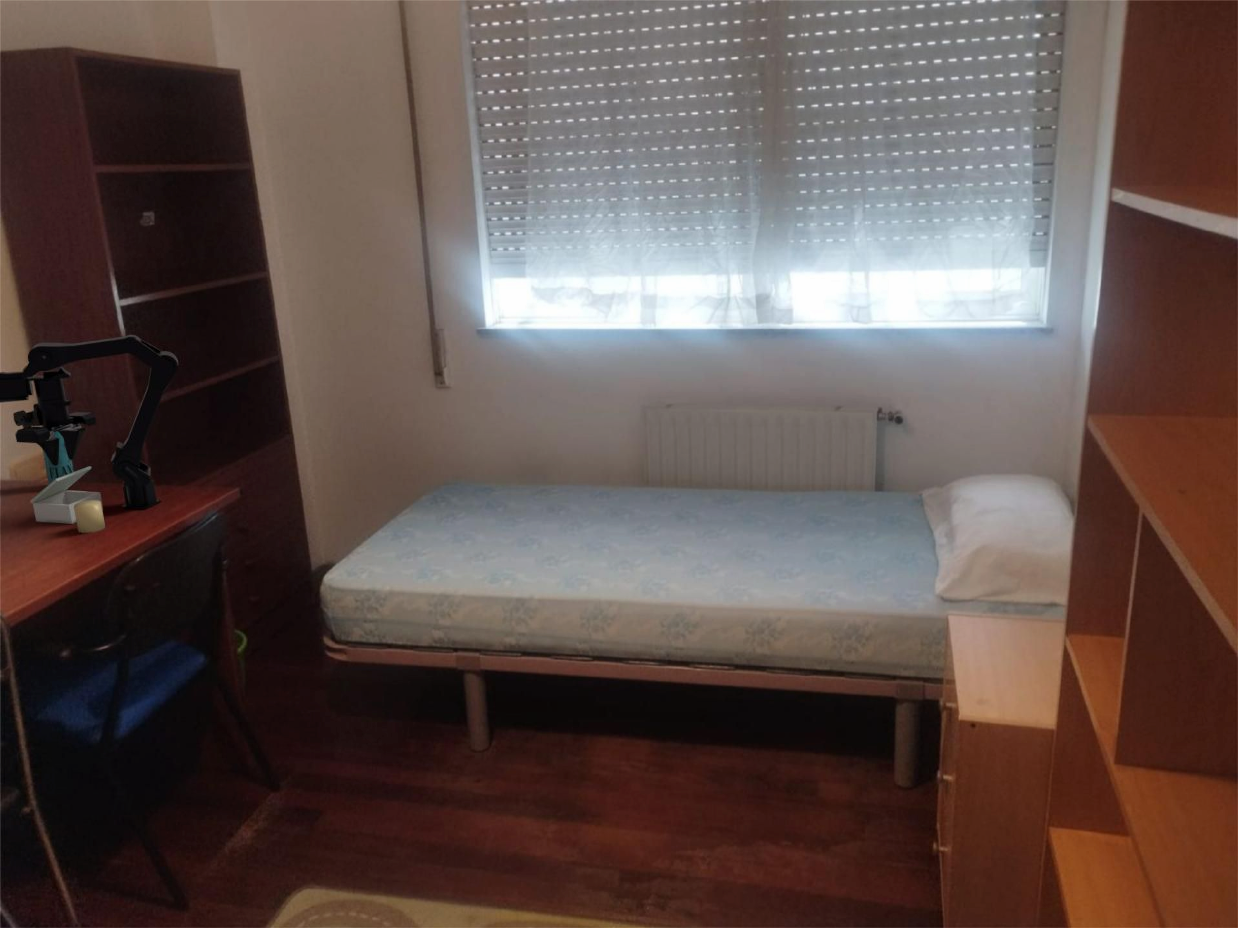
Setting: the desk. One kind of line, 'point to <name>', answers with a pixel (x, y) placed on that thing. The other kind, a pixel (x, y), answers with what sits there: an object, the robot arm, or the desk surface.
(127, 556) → the desk surface
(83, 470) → the box lid
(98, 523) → the beige rounded cylinder
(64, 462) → the beverage bottle
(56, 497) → the storage box
